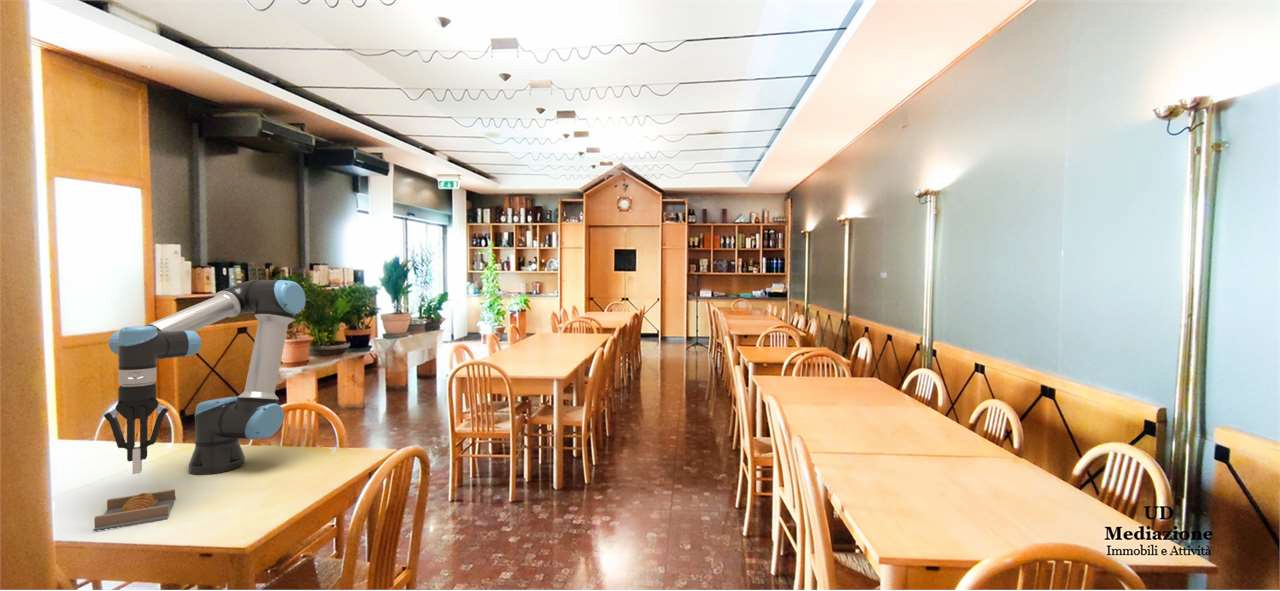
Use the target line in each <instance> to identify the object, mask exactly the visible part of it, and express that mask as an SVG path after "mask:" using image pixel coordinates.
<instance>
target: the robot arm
mask: <svg viewBox="0 0 1280 591" xmlns="http://www.w3.org/2000/svg"><path fill="white" fill-rule="evenodd" d="M306 300H307V299H306V294H305V291H304V290H303V287H302V286H301V285H300V284H298V282H296V281H292V280H286V279H285V280H284V279H274V280H273V279H269V280H267V279H264V280H263V279H253V280H247V281H244V282H242V283H238V284H236V285H233V286H230V287H228V288H225V289H223V290H220V291H218V292H216V293H215V295H214V297H211V298H208V299H206V300H204V301H202V302H199V303H196V304H194V305H191V306H189V307H187V308H185V309H181V310H180V311H177V312H174V313H172V314H170V315H167V316H164V317H163V318H160V319H158V320H155V321H152V322H150V323H148V324H146V325H145V324H144V325H137V326H135V325H134V326H133V325H132V326H124V327H121V328H120V329H119V330H118V331H116V332H114V333H113V334H112V335H111V336H110V338H109V340H108V347H109V350H110V351H111V352H112V353H113V354H114V355H117V356H118V376H117V378H118V379H117V380H118V381H117V383H118V385H120V386H118V391H117V394H118V395H117V396H118V397H117V400H118V402H117V404H116V405H115V408H114V409H112V410H111V411H107V412H106V413H104V415H103V417H104V418H105V420H107V422H108V423H109V425H110V428H111V431H112V434H113V436H114V440H115V443H116V447H117V448H118V449H125V450H126V460H127V462H132V475H136V474H141V473H142V470H143V460H146V459H147V458H148V447H149V446H153V445H154V444H155V443H156V442H157V440H158V436H159V433H160V430H161V427H162V424H163V421H164V417H165V416H166V414H167V413H168V411H169V410H170V408H169V407H168V406H163V405H160V402H159V401H158V399H157V384H156V383H155V382H157V370H158V367H157V362H158V360H165V359H176V358H186V357H188V356H189V357H190V356H194V355H196V354H197V353H199V351H200V350H201V347H202V339H201V337H200V334H198V333H197V331H199V330H201V329H203V328H206V327H208V326H209V325H212V324H214V323H216V322H219V321H221V320H223V319H225V318H236V317H237V316H239V315H243V314H252V313H253V314H254V317H255V318H256V320H258V321H257V322H258V324H257V329H256V333H255V339H254V342H253V348H252V351H251V358H250V362H249V366H248V372H247V377H246V382H245V386H244V391H242V393H240V394H239V395H238V396H229V397H221V398H214V399H209V400H206V401H201V402H199V403H198V404H196V407H195V412H194V431H195V432H194V435H195V437H194V440H195V441H194V442H195V444H194V449H193V452H192V456H191V457H190V460H189V463H188V466H187V467H188V470H187V471H188V474H191V475H212V474H220V473H224V472H225V471H226V472H228V471H229V470H230V471H233V470H236V469H239V468H241V467H243V466H244V465H245V464H246V456H245V454H244V452H243V448H242V447H241V444H240V439H247V440H264V439H268V438H270V437H272V436H273V435H274V434H275V433H277V432H278V431H279V429H280V428H281V427H282V424H283V423H284V418H285V411H284V409H283V407H282V406H281V405H280V404H278V403H279V400H280V399H279V396H277V395H276V393H275V392H276V388H277V383H278V378H279V373H280V367H281V362H282V356H283V353H284V352H283V351H284V348H285V342H286V338H287V332H288V328H289V326H288V325H289V324H291V323H293V322H294V321H295V317H296V315H297V314H300V313H301V312H302V311H303V310H304V309H305V306H306ZM154 411H156V414H157V417H156V419H155V423H154V426H153V429H152V432H151V435H150V439H149V438H148V437H149V436H148V432H149V431H148V427H149V426H148V422H149V416H151V415H152V414H153V412H154ZM119 414H120V415H121V416H122V417H123V418H124V419H125V420H126V440H125V437H124V434H123V430H122V427H121V425H120V422H119V419H118V417H119ZM136 420H139V446H136V443H135V442H136V437H135V436H136ZM243 464H244V465H243ZM242 465H243V466H242ZM240 466H241V467H240ZM238 467H239V468H238ZM235 468H236V469H235ZM232 469H233V470H232Z"/></svg>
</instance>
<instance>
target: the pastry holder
mask: <svg viewBox="0 0 1280 591" xmlns="http://www.w3.org/2000/svg"><path fill="white" fill-rule="evenodd" d="M148 493H149V494H152V495H153V496H154V497H155V498H156V499H157V500H158V501H157V503H156V505H155V507H149V508H143V509H137V510H131V511H125V512H122V507H123V505H124V504H125V503H126V502H127V501H128V500H129V499H131V498H132V497H133V496H137V495H138V494H133V495H129V496H128V495H127V496H122V497H114V498H109V499H107V500H106V511H105V512H104V513H103V514H102V515H96V516H95V517H94V528H93V530H92V532H93V531H97V532H99V531H98V530H103V531H106V530H105V529H108V530H111V529H110V528H114V529H118V528H117V527H120V528H125V527H124V526H126V527H129V526H130V527H131V526H135V525H142V524H146V523H148V522H149V523H153V521H154V522H159V521H158V520H160V521H164V520H163V519H166V520H168V519H167V518H169V516H170V514H169V513H171V512H170V511H172V509H173V507H174V505H175V502H176V500H177V497H176V489H175V488H174V489H167V490H163V491H162V490H160V491H153V492H148ZM174 501H175V502H174ZM172 506H173V507H172ZM149 523H148V524H149ZM122 526H123V527H122Z"/></svg>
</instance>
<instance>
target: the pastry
mask: <svg viewBox="0 0 1280 591" xmlns="http://www.w3.org/2000/svg"><path fill="white" fill-rule="evenodd" d="M149 493H150V492H141V493H139V494H136V495H137V496H133V495H132V496H133V497H132V498H131V499H129V500H128V501H127V502H126V503H125V504H124V505H123V507H122V512H125V511H131V510H137V509H143V508H149V507H155V505H156V503H157V501H158V500H157V499H156V498H155V497H154V496H153V495H152V494H149Z"/></svg>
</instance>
